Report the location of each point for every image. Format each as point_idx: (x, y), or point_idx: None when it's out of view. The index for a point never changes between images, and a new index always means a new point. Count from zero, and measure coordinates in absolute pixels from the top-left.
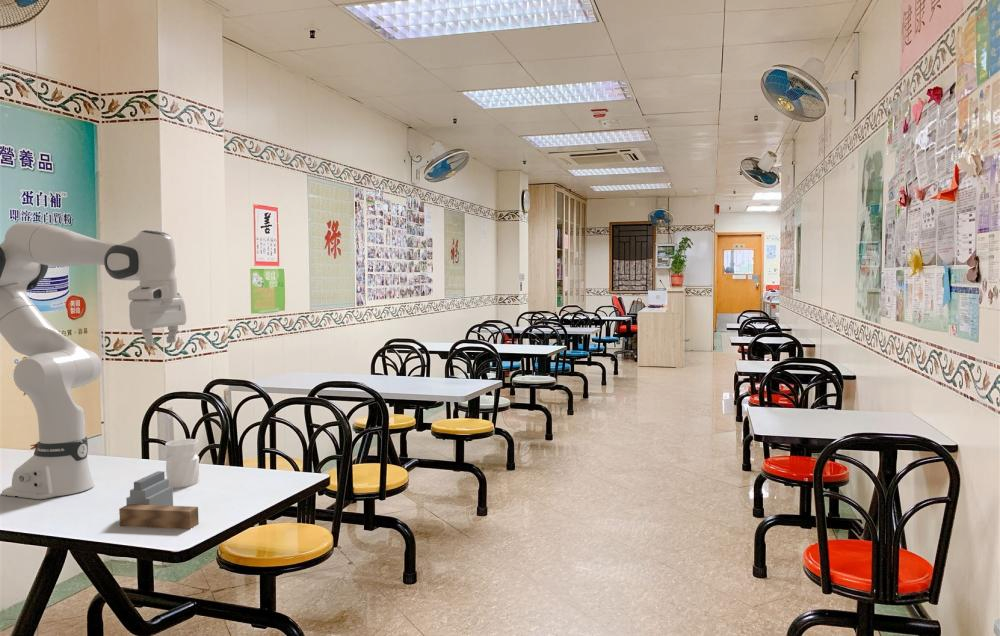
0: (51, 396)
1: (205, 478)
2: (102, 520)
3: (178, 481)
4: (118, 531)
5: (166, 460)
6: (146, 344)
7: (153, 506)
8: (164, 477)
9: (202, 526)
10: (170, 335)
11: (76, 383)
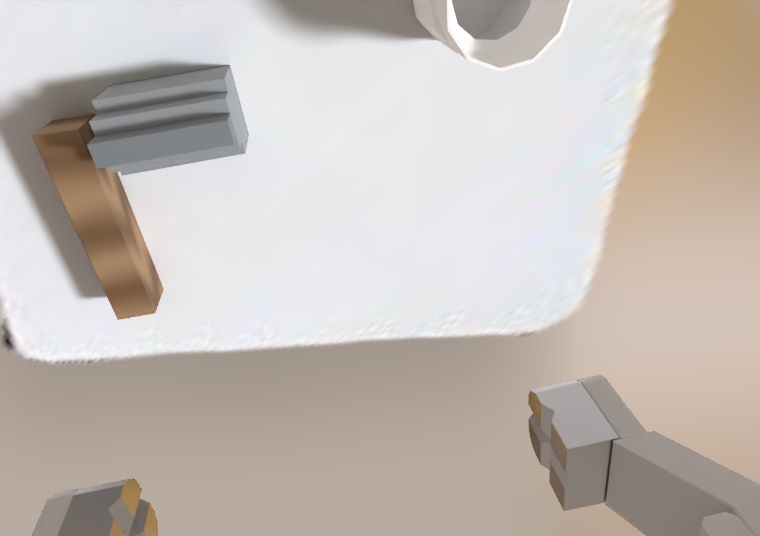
0: None
1: None
2: (56, 24)
3: (417, 10)
4: (22, 150)
5: None
6: (50, 514)
7: (100, 213)
8: (235, 138)
9: None
10: (624, 472)
11: None
